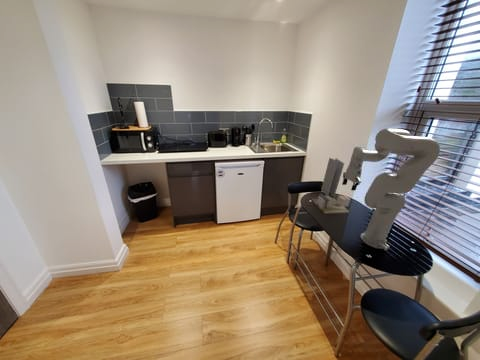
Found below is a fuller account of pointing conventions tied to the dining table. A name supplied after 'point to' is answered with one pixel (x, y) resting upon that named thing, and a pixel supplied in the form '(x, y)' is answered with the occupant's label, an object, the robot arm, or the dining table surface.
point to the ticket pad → (325, 201)
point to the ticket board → (332, 208)
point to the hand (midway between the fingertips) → (348, 187)
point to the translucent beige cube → (343, 200)
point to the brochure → (332, 176)
